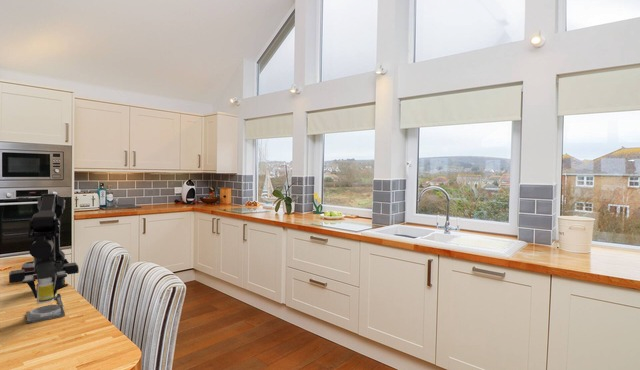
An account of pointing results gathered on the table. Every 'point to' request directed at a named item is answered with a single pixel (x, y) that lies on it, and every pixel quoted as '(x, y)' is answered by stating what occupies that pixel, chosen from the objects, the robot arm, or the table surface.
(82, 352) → the table surface
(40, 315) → the grey handled tray
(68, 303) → the table surface
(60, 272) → the robot arm
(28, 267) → the mate gourd
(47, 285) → the supplement bottle
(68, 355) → the table surface
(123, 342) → the table surface
